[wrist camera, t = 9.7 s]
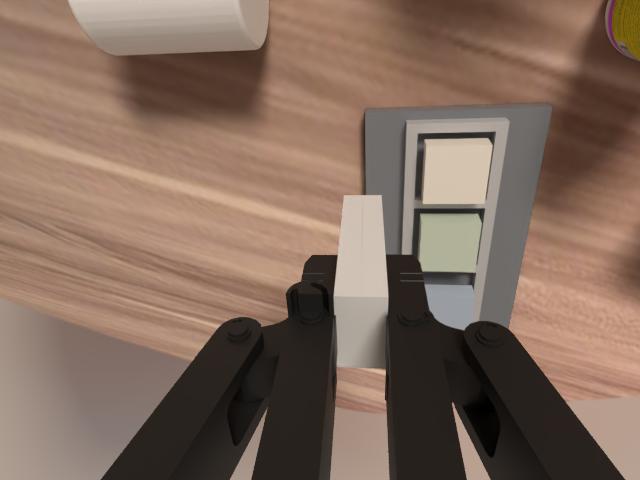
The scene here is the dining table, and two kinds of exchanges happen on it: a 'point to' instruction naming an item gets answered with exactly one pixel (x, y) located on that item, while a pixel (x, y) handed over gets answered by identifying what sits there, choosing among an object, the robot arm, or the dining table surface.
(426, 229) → the key sage
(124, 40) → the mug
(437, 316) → the key blue
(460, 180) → the key cream
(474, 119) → the keypad
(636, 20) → the supplement bottle
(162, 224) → the dining table surface
